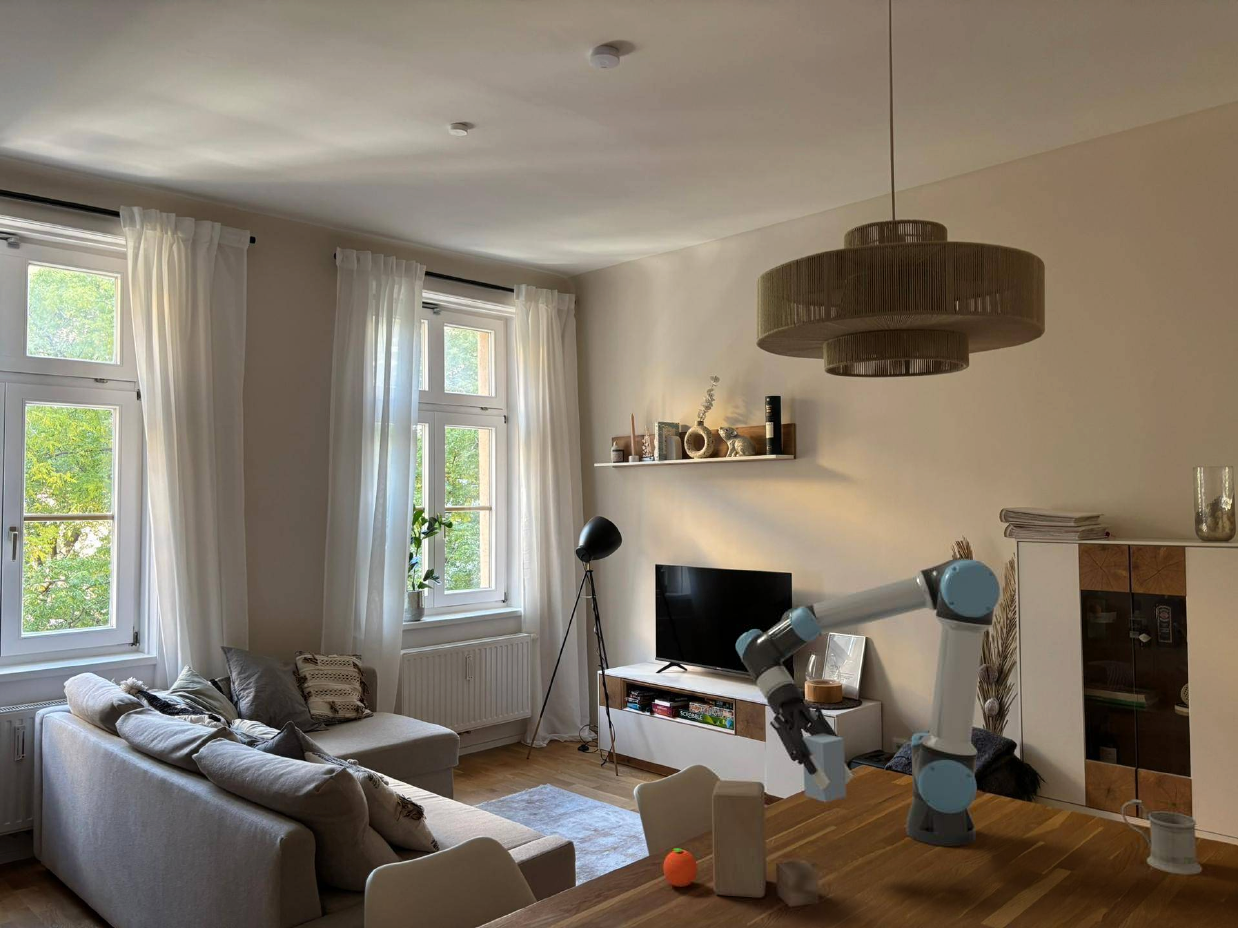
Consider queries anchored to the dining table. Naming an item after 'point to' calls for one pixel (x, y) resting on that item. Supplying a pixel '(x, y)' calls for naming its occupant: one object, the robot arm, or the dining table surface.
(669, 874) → the clementine
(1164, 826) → the mug
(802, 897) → the walnut cube
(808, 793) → the slate block
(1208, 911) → the dining table surface
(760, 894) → the block
